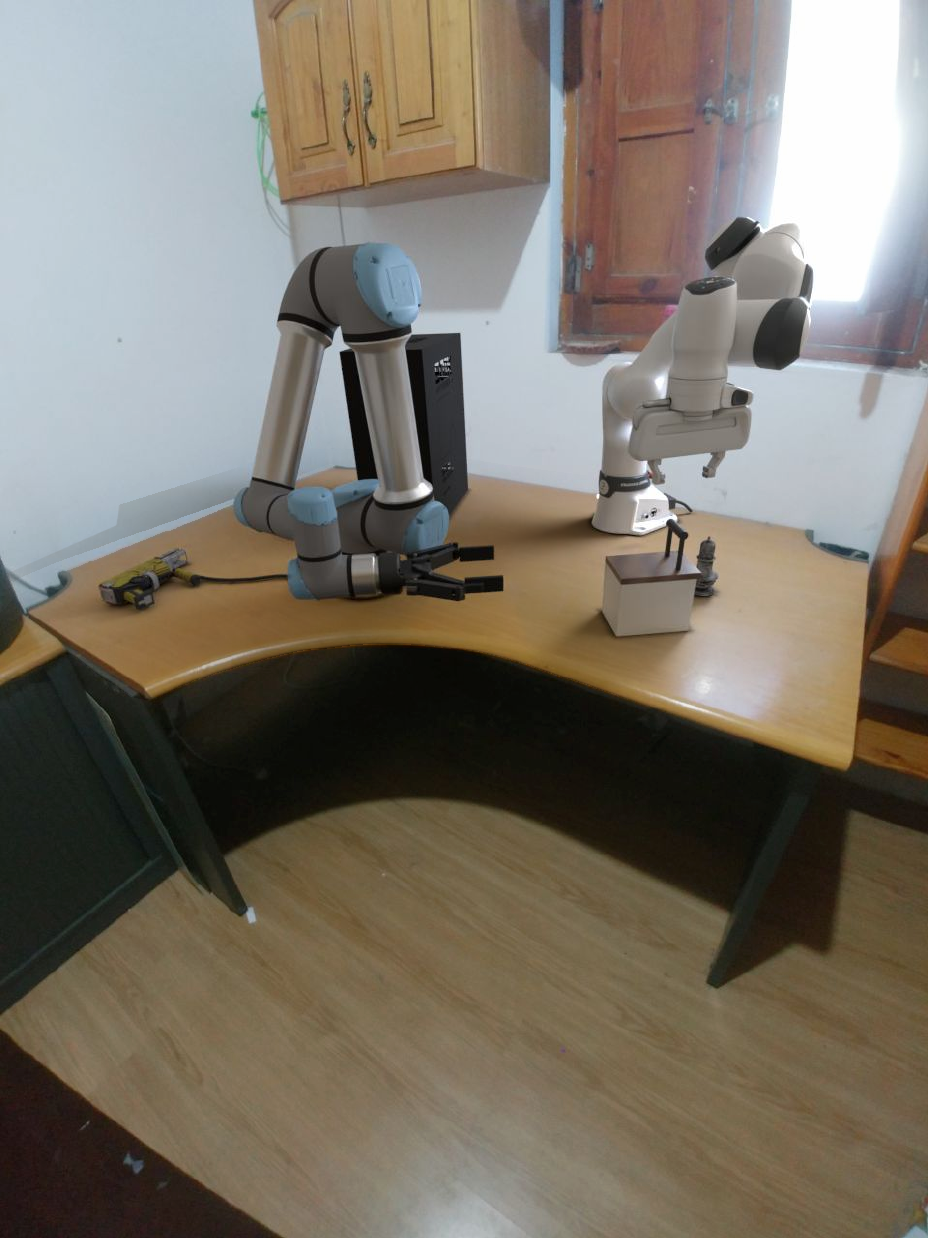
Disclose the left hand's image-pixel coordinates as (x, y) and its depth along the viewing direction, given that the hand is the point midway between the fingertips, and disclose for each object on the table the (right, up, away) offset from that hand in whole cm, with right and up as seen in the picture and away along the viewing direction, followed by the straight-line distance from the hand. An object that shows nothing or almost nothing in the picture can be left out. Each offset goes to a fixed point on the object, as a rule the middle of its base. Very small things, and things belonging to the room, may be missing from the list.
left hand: (498, 567), depth 108 cm
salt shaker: (+43, -3, +18) cm, 47 cm away
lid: (+28, 0, +3) cm, 29 cm away
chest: (+29, -10, +9) cm, 31 cm away
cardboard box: (-19, +23, +70) cm, 76 cm away
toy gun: (-75, -2, +33) cm, 82 cm away
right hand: (+31, +14, -5) cm, 35 cm away
